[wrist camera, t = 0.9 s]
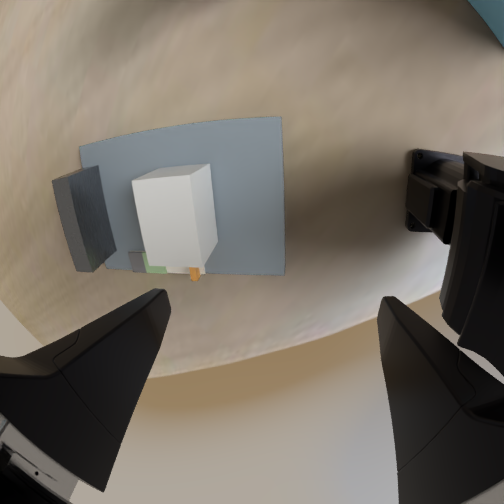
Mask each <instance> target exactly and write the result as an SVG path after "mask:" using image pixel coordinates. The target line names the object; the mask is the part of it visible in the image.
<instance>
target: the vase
mask: <svg viewBox="0 0 504 504" xmlns="http://www.w3.org/2000/svg"><path fill="white" fill-rule="evenodd" d="M468 2H469V3H470V4H471V5H472V6H473V7H474V9H475V10H476V11H477V12H478V13H479V15H480V16H481V17H482V18H483V20H484V21H485V22H486V24H487V25H488V26H489V28H490V29H491V30H492V32H493V33H494V34H495V36H496V37H497V39H498V40H499V42H500V43H501V45H502V46H503V47H504V0H468Z"/></svg>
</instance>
